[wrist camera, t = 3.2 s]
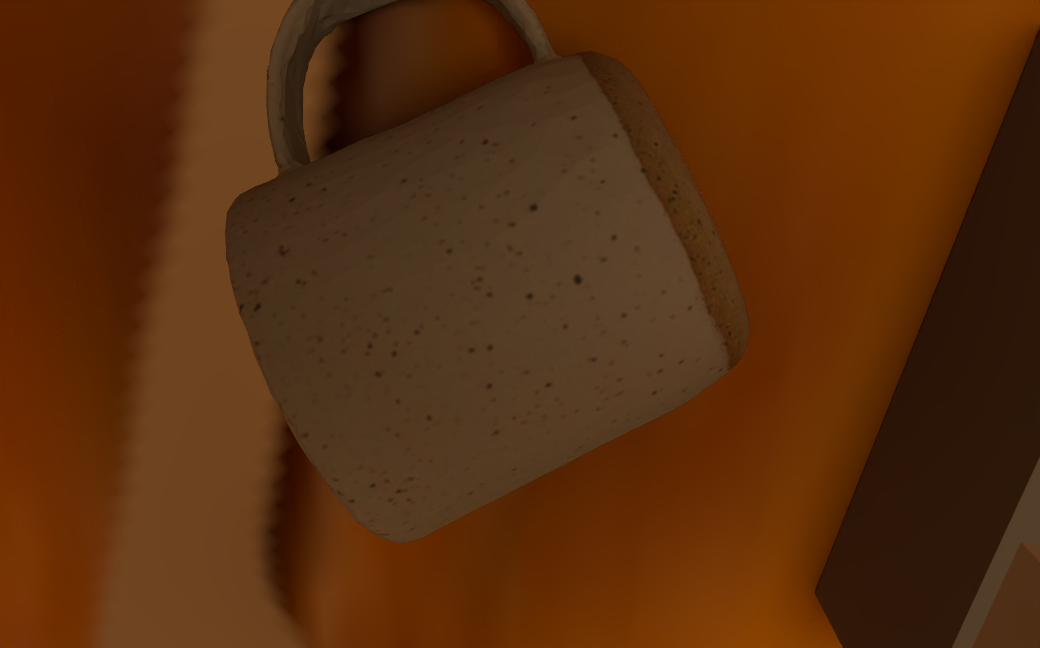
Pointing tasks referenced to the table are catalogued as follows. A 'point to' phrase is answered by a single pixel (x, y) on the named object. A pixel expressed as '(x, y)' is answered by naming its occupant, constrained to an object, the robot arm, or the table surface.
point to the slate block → (956, 427)
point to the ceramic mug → (477, 280)
